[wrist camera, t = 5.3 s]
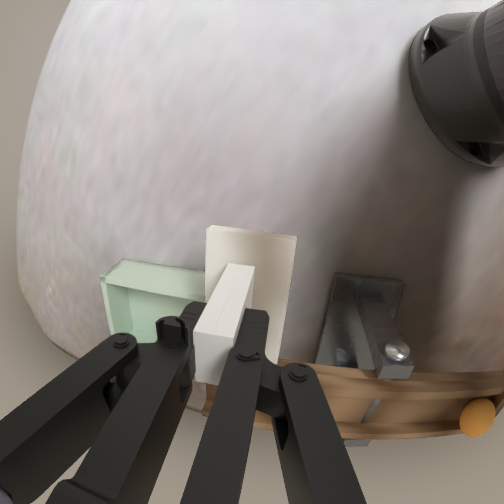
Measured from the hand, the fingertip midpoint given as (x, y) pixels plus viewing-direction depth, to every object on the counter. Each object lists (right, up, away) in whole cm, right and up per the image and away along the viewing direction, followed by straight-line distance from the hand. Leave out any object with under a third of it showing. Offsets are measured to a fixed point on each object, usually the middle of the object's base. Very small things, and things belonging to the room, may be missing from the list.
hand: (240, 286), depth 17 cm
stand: (+11, -6, +12) cm, 17 cm away
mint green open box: (-8, -4, +14) cm, 16 cm away
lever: (+10, -5, +1) cm, 12 cm away
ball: (+19, -12, -1) cm, 23 cm away
